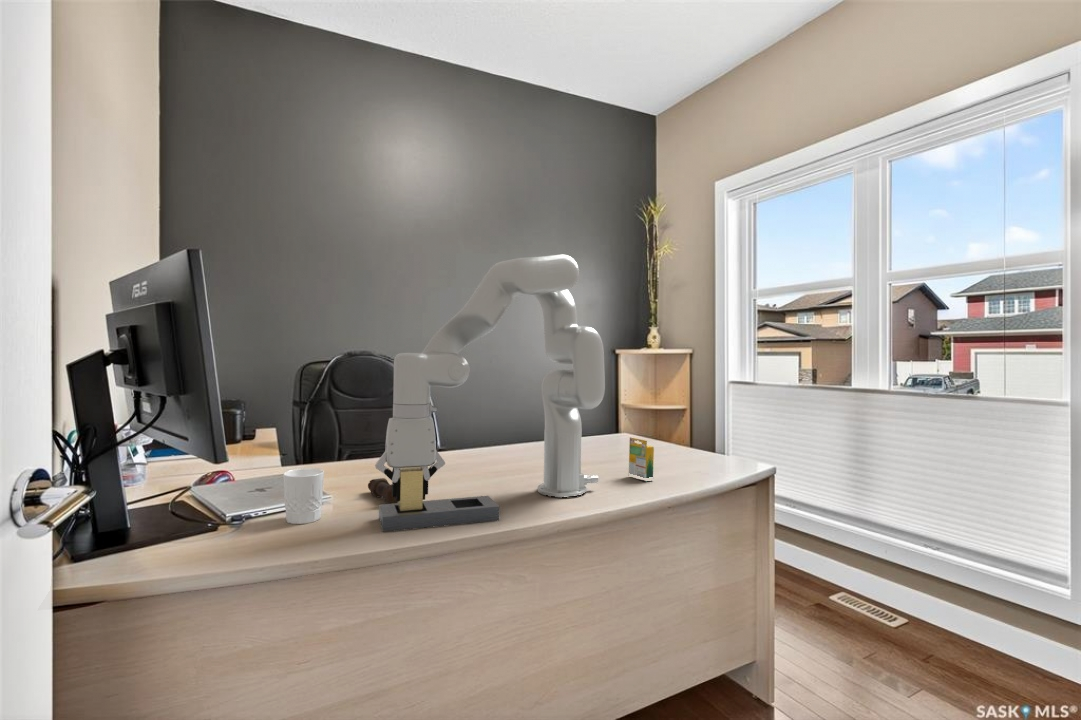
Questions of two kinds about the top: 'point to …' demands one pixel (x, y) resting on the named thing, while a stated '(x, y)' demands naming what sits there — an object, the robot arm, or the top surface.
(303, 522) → the white cup
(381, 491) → the bolt
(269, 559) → the top surface
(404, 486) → the gold block
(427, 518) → the grey peg board
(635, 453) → the crayon box
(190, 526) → the top surface
